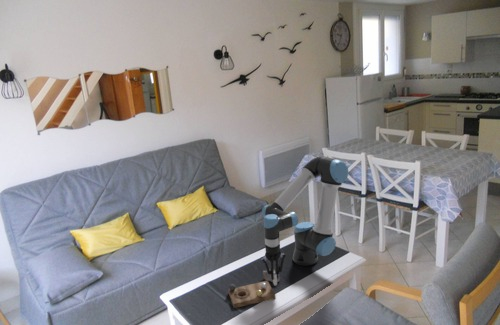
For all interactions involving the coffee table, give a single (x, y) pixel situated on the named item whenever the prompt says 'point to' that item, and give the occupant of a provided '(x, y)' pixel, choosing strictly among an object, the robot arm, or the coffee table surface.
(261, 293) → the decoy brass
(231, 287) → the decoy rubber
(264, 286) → the ball
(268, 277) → the stone
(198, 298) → the coffee table surface
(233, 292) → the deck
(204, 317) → the coffee table surface
